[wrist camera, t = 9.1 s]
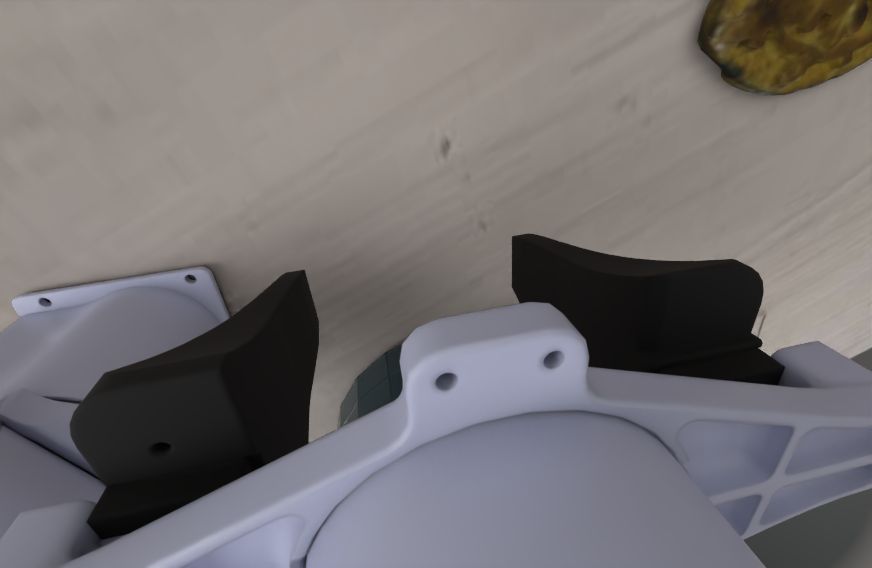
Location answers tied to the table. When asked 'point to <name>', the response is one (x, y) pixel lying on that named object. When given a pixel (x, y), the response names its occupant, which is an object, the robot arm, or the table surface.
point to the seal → (786, 41)
